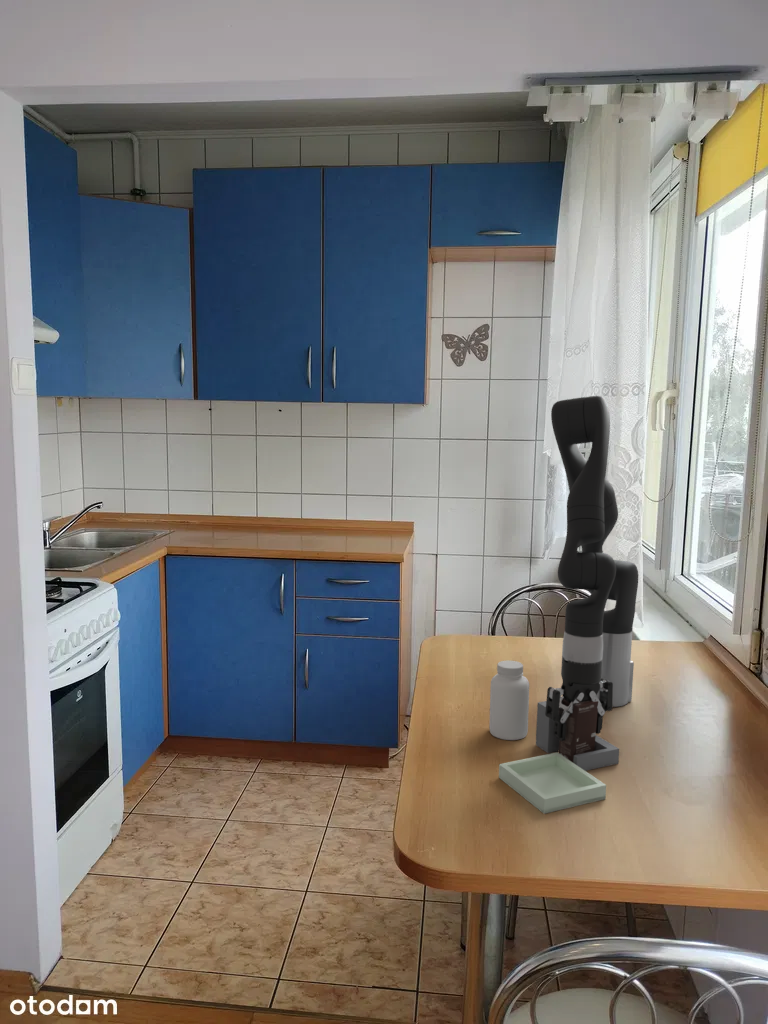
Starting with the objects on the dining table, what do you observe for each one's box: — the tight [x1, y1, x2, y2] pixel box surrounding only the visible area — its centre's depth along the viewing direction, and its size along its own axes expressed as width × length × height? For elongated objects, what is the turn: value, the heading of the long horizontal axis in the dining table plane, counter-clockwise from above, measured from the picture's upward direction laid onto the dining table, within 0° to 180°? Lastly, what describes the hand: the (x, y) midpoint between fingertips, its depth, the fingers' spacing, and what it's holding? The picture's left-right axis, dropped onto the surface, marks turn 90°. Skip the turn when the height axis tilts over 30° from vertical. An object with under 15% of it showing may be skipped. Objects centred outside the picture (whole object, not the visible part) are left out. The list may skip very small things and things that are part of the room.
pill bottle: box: [489, 660, 530, 741], centre depth 164 cm, size 8×8×15 cm
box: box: [557, 699, 598, 762], centre depth 153 cm, size 6×4×12 cm
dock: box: [535, 700, 620, 772], centre depth 155 cm, size 10×13×10 cm
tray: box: [498, 751, 607, 815], centre depth 141 cm, size 13×14×3 cm
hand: (577, 735), depth 153 cm, fingers open, 8 cm apart
